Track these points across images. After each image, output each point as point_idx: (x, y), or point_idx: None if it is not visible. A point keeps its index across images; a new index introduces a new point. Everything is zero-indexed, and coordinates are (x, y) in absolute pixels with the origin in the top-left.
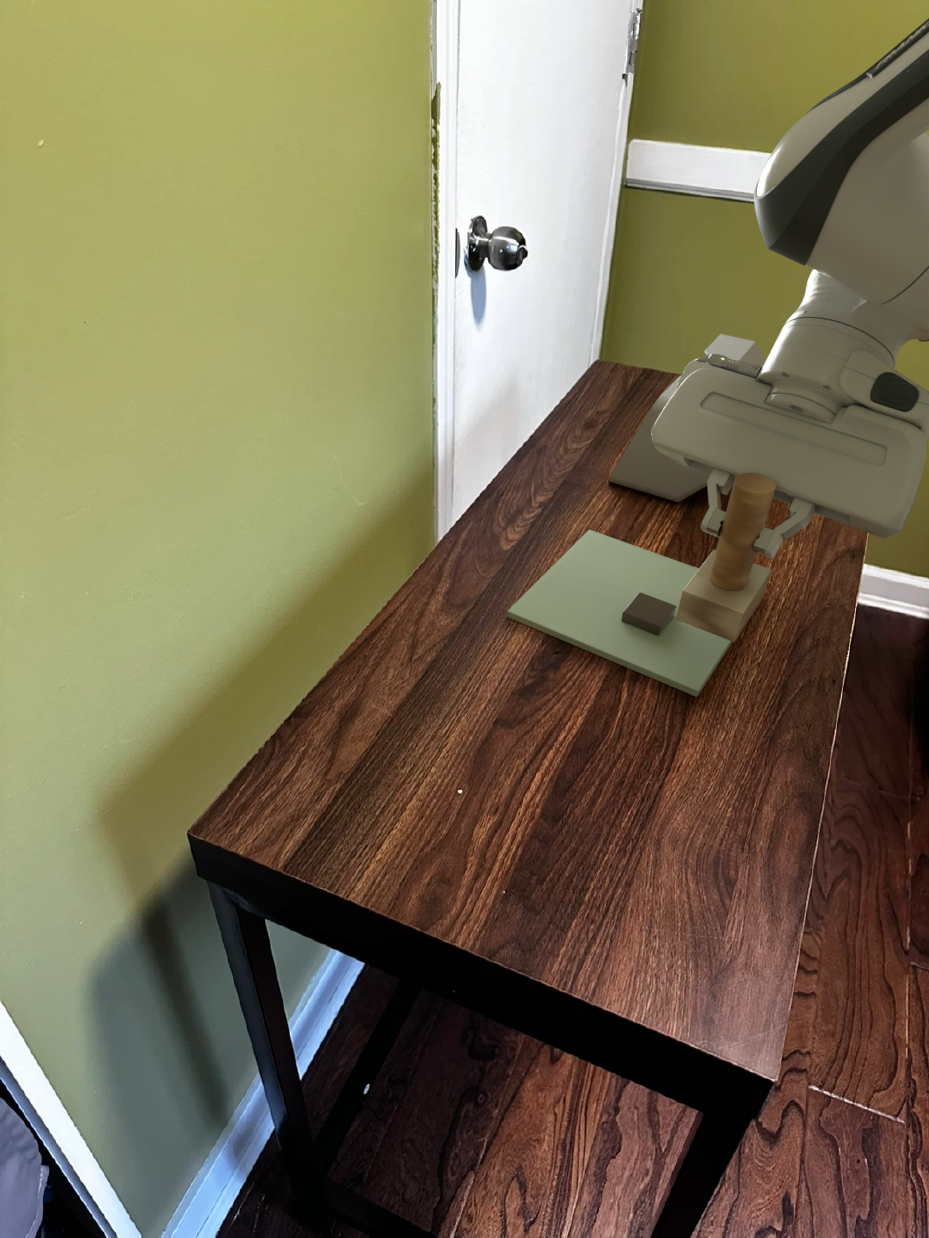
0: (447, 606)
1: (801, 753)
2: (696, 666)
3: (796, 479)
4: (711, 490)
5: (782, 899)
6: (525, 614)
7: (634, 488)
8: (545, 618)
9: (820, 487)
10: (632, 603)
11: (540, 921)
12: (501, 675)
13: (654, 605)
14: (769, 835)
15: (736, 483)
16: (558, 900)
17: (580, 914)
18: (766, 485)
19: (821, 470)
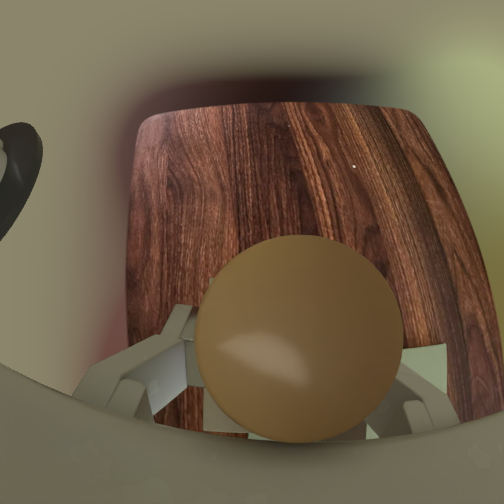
0: (474, 322)
1: (141, 333)
2: None
3: (119, 463)
4: (418, 381)
5: (137, 192)
6: (434, 350)
7: None
8: (419, 358)
9: (19, 416)
10: (364, 427)
11: (262, 121)
12: (406, 276)
13: (343, 440)
14: (151, 233)
15: (377, 273)
16: (260, 132)
17: (245, 131)
18: (245, 339)
19: (13, 491)
